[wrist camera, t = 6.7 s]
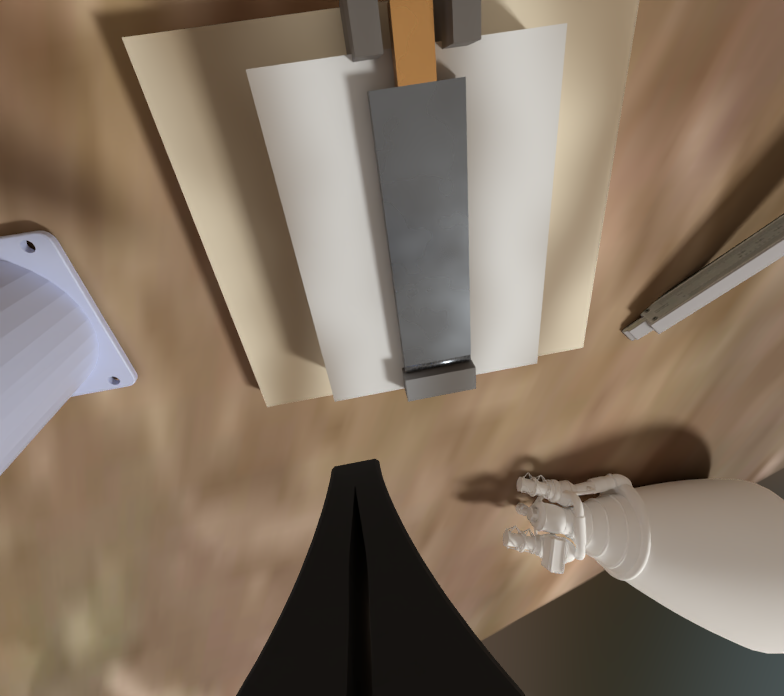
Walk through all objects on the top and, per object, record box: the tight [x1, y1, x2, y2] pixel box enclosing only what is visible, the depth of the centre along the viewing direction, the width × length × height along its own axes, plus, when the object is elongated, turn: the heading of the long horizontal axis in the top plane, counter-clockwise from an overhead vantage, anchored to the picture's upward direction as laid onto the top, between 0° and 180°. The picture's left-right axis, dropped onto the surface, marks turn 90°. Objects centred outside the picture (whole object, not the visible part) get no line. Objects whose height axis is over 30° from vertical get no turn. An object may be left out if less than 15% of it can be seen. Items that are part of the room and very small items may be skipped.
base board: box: [122, 0, 639, 407], centre depth 16 cm, size 18×16×6 cm
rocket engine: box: [503, 472, 784, 653], centre depth 29 cm, size 12×12×18 cm
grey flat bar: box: [367, 0, 471, 373], centre depth 14 cm, size 3×13×1 cm, turn 7°
